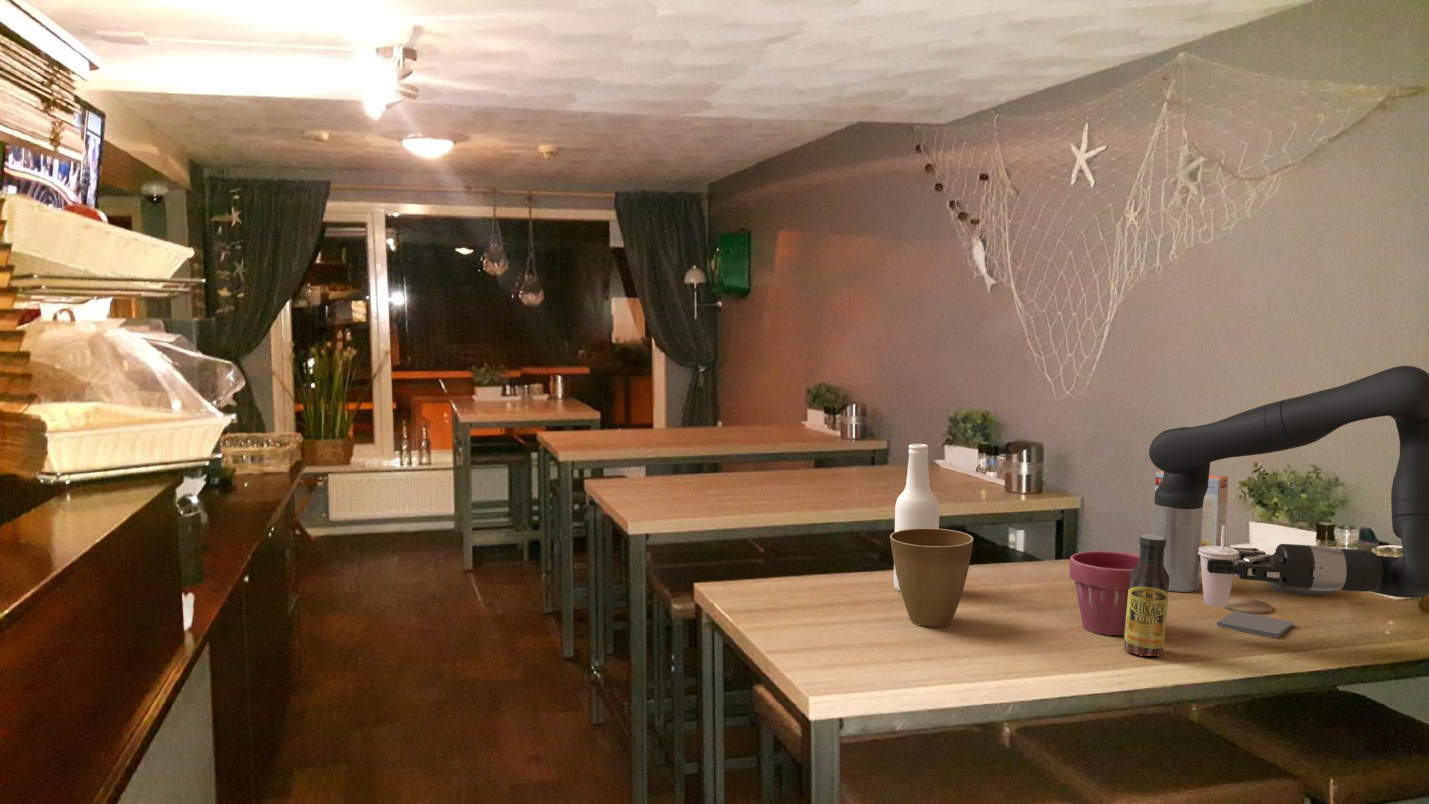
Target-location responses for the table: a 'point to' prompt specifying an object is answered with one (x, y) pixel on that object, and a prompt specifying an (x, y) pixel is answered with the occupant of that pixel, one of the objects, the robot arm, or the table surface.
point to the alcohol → (916, 497)
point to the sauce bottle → (1147, 600)
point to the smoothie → (1216, 583)
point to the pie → (1298, 590)
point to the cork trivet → (1248, 606)
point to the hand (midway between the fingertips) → (1203, 560)
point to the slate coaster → (1255, 624)
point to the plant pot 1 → (931, 572)
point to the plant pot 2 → (1103, 589)
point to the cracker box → (1211, 509)
